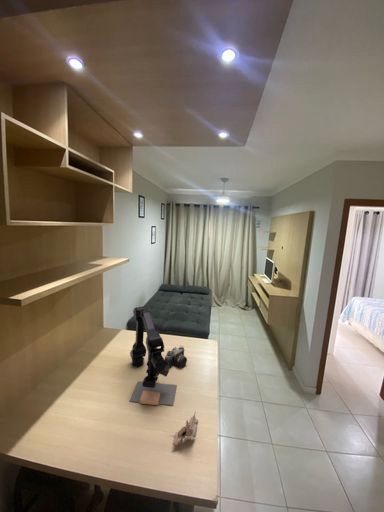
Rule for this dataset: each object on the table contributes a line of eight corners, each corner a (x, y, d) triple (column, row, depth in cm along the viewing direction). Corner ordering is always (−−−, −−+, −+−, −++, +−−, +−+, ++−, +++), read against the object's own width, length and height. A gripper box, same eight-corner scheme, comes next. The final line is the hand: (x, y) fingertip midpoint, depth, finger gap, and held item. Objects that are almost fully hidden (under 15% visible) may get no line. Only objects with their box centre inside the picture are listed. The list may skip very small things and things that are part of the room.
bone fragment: (187, 420, 102) (200, 405, 100) (197, 435, 98) (211, 420, 96) (167, 436, 89) (182, 419, 87) (178, 454, 85) (193, 437, 84)
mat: (129, 401, 108) (129, 400, 108) (137, 382, 122) (137, 381, 122) (173, 405, 107) (173, 404, 107) (176, 385, 121) (176, 384, 121)
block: (143, 394, 113) (139, 403, 107) (143, 390, 113) (139, 399, 107) (160, 395, 113) (157, 405, 107) (160, 392, 112) (158, 401, 106)
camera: (174, 373, 131) (174, 358, 130) (162, 366, 138) (163, 351, 137) (191, 363, 143) (192, 348, 142) (180, 356, 150) (181, 342, 149)
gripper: (165, 372, 102) (164, 403, 104) (171, 350, 121) (170, 376, 123) (142, 370, 103) (141, 400, 105) (151, 349, 121) (150, 375, 123)
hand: (152, 387), depth 114 cm, fingers closed
